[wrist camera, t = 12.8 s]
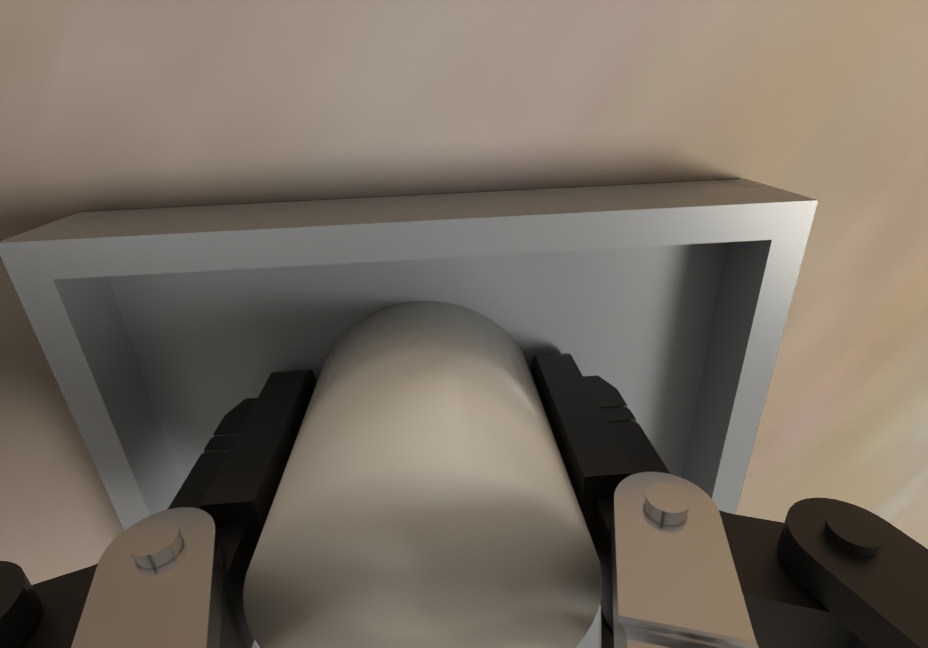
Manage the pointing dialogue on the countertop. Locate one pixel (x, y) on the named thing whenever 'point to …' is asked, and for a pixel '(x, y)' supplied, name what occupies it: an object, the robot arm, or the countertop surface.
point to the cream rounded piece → (424, 500)
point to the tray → (410, 280)
